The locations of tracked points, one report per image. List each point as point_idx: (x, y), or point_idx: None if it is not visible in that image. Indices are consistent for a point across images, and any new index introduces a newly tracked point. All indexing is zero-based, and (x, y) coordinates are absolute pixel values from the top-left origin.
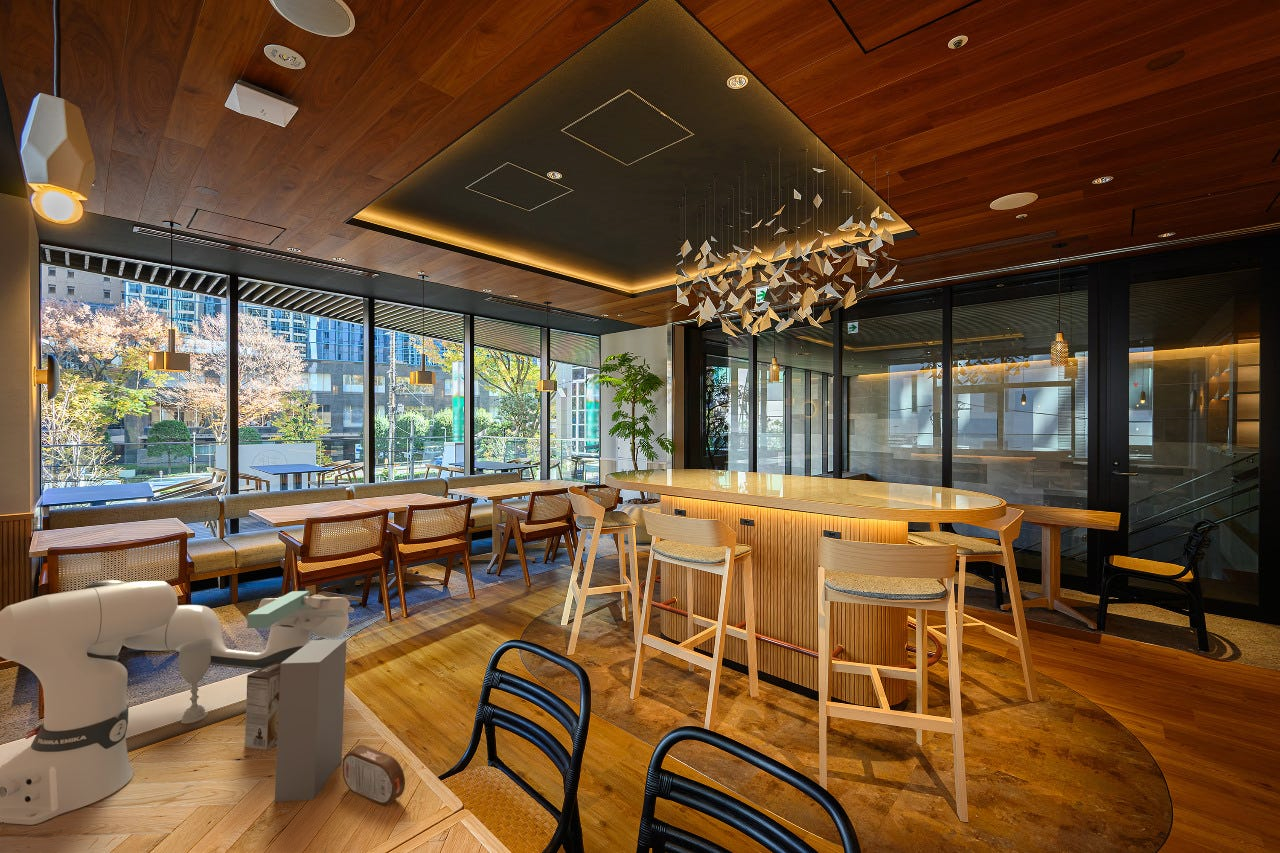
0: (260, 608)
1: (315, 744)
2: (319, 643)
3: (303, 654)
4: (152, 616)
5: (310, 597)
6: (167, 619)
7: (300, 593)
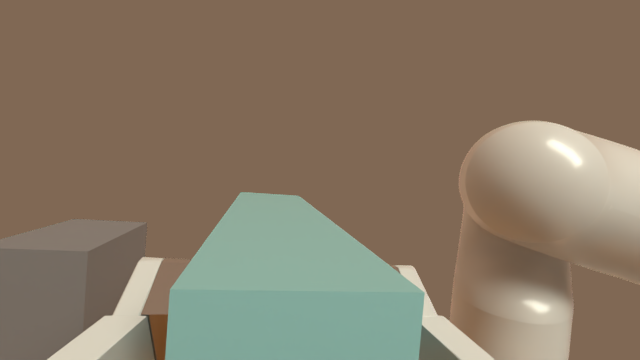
0: (301, 202)
1: None
2: (66, 242)
3: (107, 228)
4: (460, 189)
5: (124, 292)
6: (473, 211)
7: (247, 252)
